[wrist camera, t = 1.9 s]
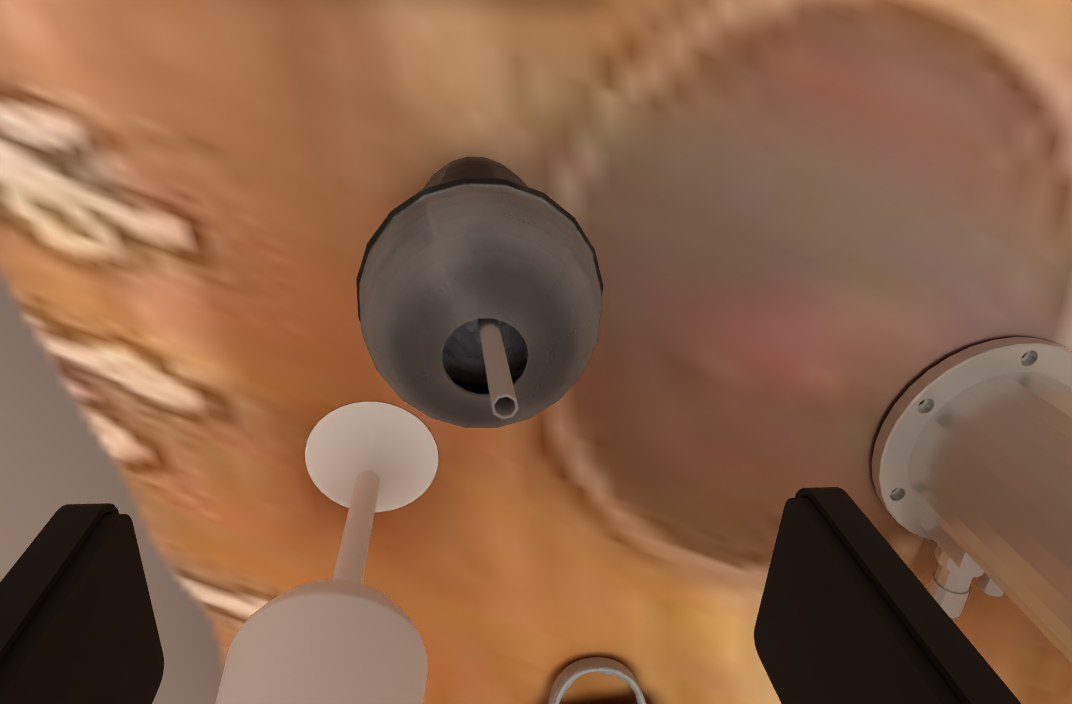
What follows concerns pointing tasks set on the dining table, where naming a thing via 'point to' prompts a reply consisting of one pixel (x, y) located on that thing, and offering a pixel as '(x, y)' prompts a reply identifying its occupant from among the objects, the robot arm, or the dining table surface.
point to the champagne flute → (343, 579)
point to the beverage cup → (479, 297)
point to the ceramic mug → (589, 666)
